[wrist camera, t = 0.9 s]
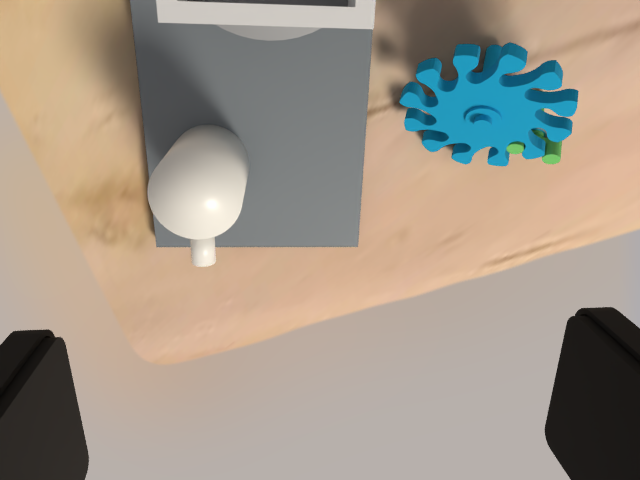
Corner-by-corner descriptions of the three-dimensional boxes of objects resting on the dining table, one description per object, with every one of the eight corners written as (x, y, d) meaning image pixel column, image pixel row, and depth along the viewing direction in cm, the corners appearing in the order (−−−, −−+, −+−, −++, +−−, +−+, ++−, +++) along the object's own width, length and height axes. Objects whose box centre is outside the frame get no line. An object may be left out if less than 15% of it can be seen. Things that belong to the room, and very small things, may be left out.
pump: (167, 123, 32) (142, 150, 27) (248, 125, 33) (241, 151, 27) (177, 227, 35) (155, 271, 29) (251, 227, 36) (245, 271, 30)
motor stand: (114, -189, 27) (8, -313, 16) (383, -173, 28) (445, -279, 17) (159, 241, 37) (111, 335, 26) (356, 241, 38) (385, 331, 27)
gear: (364, 117, 32) (491, 29, 24) (384, 47, 35) (506, -55, 27) (486, 196, 37) (628, 145, 29) (496, 129, 39) (630, 64, 31)
